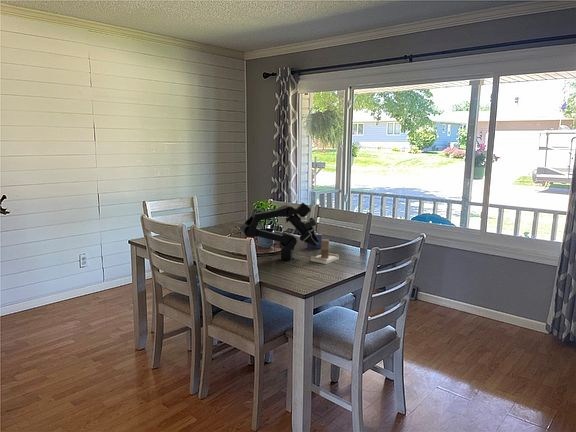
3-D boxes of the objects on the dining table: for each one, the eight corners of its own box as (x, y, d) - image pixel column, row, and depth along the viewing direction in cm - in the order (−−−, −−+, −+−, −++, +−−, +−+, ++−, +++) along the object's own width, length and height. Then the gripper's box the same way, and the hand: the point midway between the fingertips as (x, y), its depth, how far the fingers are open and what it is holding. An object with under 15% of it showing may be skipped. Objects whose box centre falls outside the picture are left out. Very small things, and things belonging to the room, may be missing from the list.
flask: (322, 247, 266) (322, 230, 264) (322, 249, 263) (322, 232, 261) (307, 247, 267) (307, 230, 265) (307, 249, 264) (307, 231, 262)
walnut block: (328, 258, 238) (328, 240, 236) (321, 258, 238) (321, 240, 237) (328, 256, 242) (329, 239, 240) (321, 256, 242) (321, 238, 240)
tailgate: (325, 264, 232) (325, 259, 232) (309, 260, 239) (309, 256, 238) (338, 258, 242) (338, 254, 242) (322, 255, 249) (322, 251, 248)
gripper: (306, 216, 228) (326, 238, 228) (310, 211, 246) (329, 230, 246) (291, 230, 231) (311, 251, 231) (296, 223, 249) (315, 243, 249)
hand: (317, 243), depth 239 cm, fingers open, 9 cm apart
